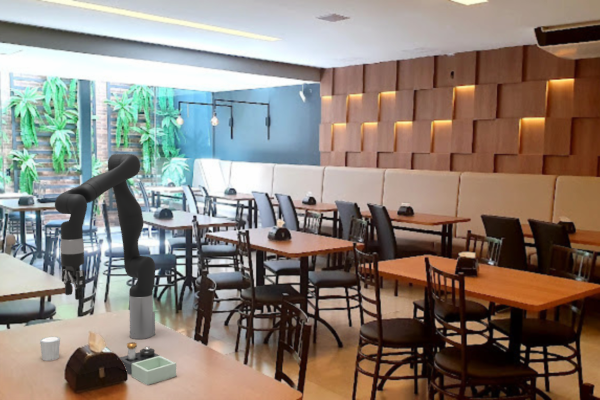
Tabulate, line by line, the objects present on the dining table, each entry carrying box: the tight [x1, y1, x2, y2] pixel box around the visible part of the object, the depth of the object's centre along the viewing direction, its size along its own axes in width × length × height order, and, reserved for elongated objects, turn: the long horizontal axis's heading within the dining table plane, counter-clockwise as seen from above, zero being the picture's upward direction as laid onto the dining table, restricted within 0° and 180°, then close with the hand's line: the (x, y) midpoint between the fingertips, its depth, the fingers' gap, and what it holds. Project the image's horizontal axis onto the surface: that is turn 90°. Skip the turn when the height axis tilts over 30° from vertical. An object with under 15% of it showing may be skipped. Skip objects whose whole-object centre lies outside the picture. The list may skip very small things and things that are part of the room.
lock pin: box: [126, 341, 137, 362], centre depth 199 cm, size 3×3×9 cm
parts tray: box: [131, 355, 177, 386], centre depth 193 cm, size 11×10×4 cm
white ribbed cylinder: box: [39, 336, 61, 362], centre depth 209 cm, size 7×7×7 cm
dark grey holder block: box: [118, 346, 161, 376], centre depth 202 cm, size 12×9×6 cm
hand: (73, 297), depth 200 cm, fingers open, 8 cm apart
